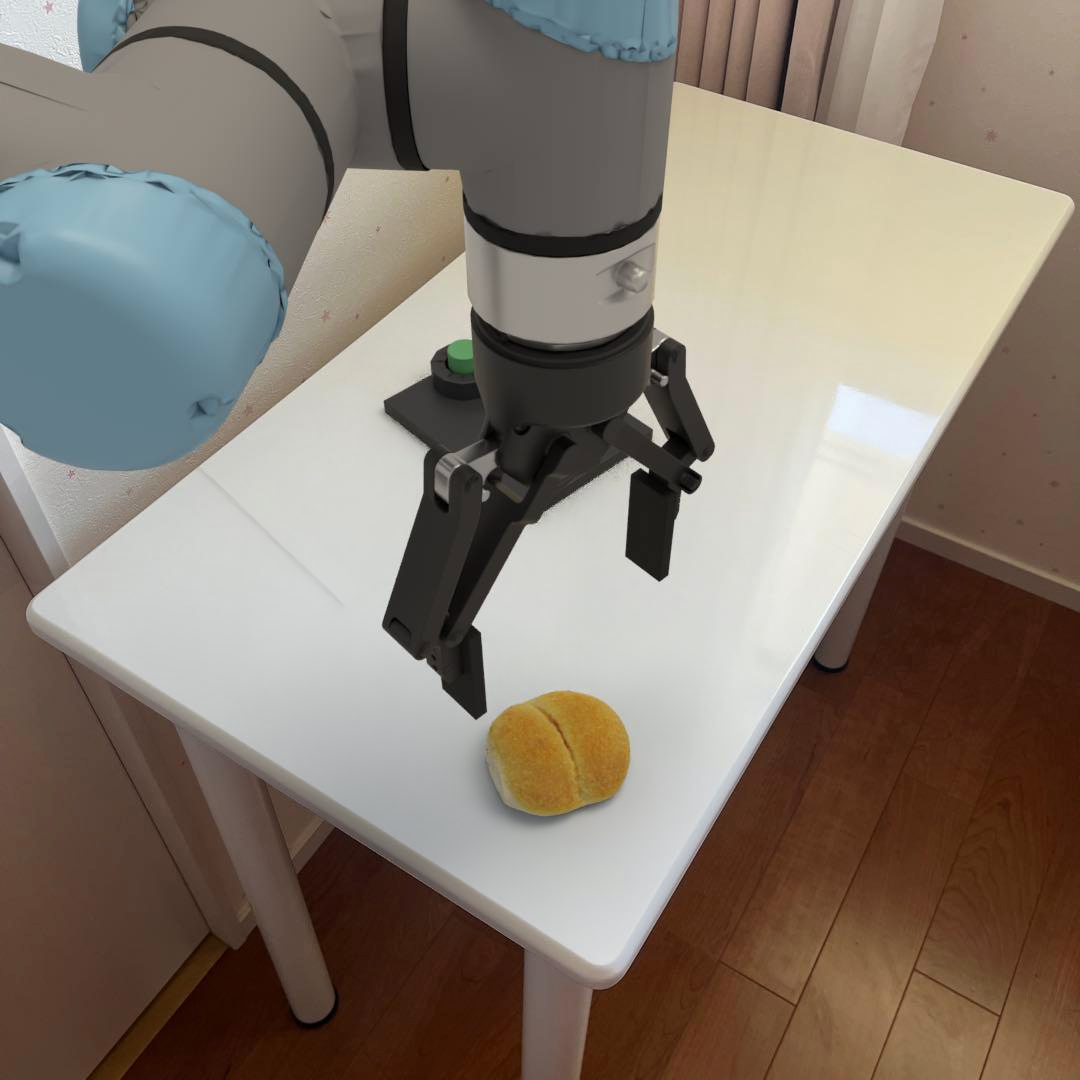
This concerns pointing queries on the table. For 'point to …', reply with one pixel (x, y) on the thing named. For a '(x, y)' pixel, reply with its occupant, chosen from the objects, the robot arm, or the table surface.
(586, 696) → the bread roll
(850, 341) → the table surface
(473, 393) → the scale
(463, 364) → the button
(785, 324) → the table surface
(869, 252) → the table surface
